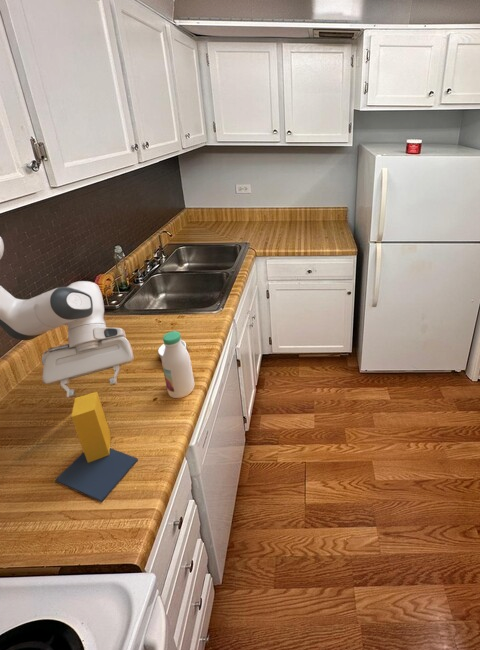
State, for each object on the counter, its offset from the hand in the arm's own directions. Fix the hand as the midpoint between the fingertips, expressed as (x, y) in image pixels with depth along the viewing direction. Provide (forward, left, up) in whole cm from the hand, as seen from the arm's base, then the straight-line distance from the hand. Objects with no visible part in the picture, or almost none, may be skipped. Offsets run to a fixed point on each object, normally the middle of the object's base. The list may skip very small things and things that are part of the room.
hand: (93, 390), depth 87 cm
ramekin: (+1, +27, -11) cm, 30 cm away
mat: (+11, -11, -11) cm, 19 cm away
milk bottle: (+13, +16, -11) cm, 24 cm away
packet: (+7, -7, -10) cm, 14 cm away
